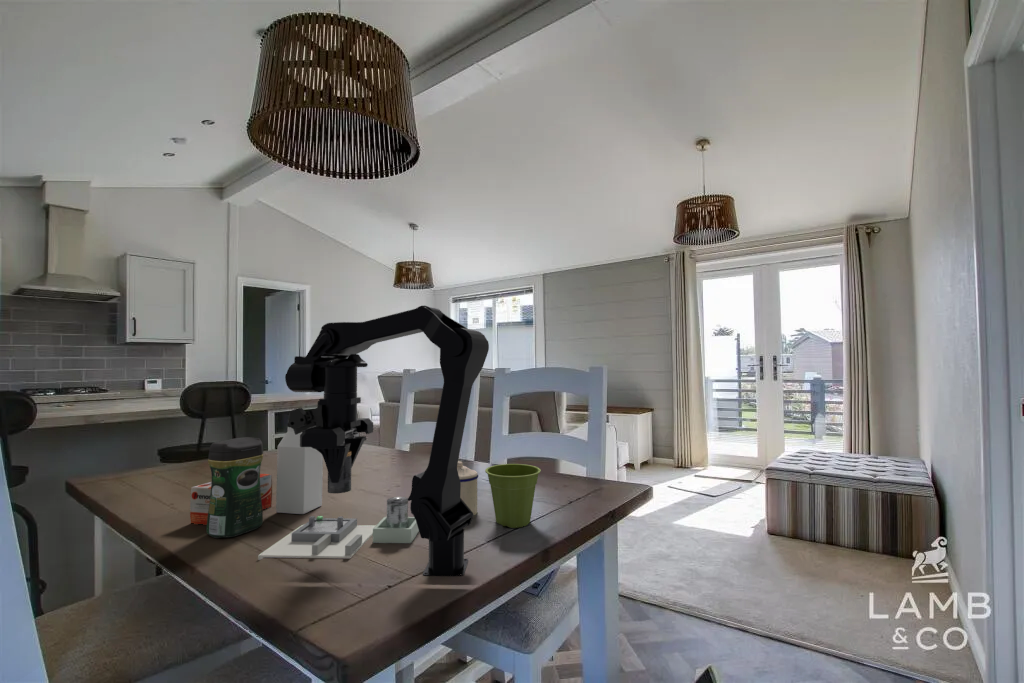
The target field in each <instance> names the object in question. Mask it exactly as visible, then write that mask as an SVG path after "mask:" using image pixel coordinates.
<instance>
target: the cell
mask: <svg viewBox="0 0 1024 683" xmlns="http://www.w3.org/2000/svg"><path fill="white" fill-rule="evenodd" d="M350 491H352V468H351V450H349V451H348V454H347V457H346V460H345V463H344V466H343V470H342V473H341V476H340V479H339V481H338V482H337V483H332V482H331V480H330V476H329V473H328V472H327V493H328V494H344V493H349V492H350Z"/></svg>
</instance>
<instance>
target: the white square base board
mask: <svg viewBox="0 0 1024 683" xmlns="http://www.w3.org/2000/svg"><path fill="white" fill-rule="evenodd" d="M337 518H338V517H337ZM337 518H336V517H335V518H334V517H333V518H332V517H331V518H330V517H328V518H327V517H325V518H324V516H323V515H318V516H316V517H315V522H316V521H337ZM343 521H348V523H346V524H345V525H344V526H343V527H342V528H341V529H339V530H338V531H337V532H302V531H304V530H305V529H306V528H308V527H309V521H307V522H306V523H304V524H301V525H300V526H299V527H297V528H296V529H294V530H292V531H291V532H290V533H289V534H287V535H285V536H284V537H283V538H281V539H279V540H278V541H276V542H275V543H273V544H272V545H270V546H269V547H268V548H267V549H265V550H263V551H262V552H261V553H260V554H258V556H257V560H258V561H260V560H262V559H264V558H281V559H283V558H285V559H286V558H287V559H288V558H290V559H292V558H293V559H296V558H297V559H299V558H300V559H345V560H346V559H351V558H352V557H353V556H354V555H355V554H356V553H357V552H358V551H359V550H360V549H362V547H363V546H364V544H366V542H368V541H369V539H371V538H372V537H373V528H374V527H375V526H376V525H377V524H375V525H373V524H372V525H371V524H370V525H369V524H368V525H367V524H366V525H365V524H364V525H360V524H358V518H351V517H350V518H347V517H346V518H344V517H343Z"/></svg>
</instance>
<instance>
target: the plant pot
mask: <svg viewBox="0 0 1024 683" xmlns="http://www.w3.org/2000/svg"><path fill="white" fill-rule="evenodd" d="M541 471H542V470H541V468H539V467H538V466H535V465H530V464H525V463H524V464H523V463H503V464H496V465H495V464H494V465H492V466H488V467H486V468H485V470H484V472H485V473H486V474H487V477H488V482H489V486H490V491H491V496H492V503H493V509H494V517H495V521H496V523H497V524H498V525H500V526H502V527H503V528H504V527H508V528H511V529H517V528H524V527H526V526H528V524H529V523H530V524H531V518H532V513H533V504H534V499H535V498H534V497H535V493H536V492H535V491H536V485H537V484H538V479H539V474H540V473H541ZM523 526H524V527H523Z"/></svg>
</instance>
